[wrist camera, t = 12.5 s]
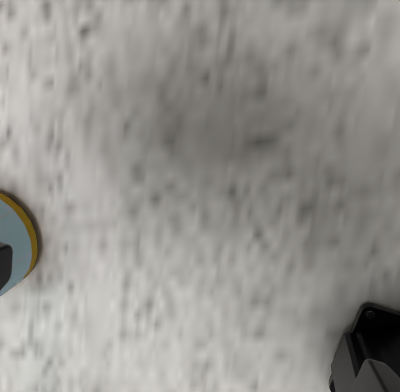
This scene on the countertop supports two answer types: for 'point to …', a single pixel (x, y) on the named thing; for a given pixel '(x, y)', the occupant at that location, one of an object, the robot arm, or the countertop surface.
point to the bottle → (17, 240)
